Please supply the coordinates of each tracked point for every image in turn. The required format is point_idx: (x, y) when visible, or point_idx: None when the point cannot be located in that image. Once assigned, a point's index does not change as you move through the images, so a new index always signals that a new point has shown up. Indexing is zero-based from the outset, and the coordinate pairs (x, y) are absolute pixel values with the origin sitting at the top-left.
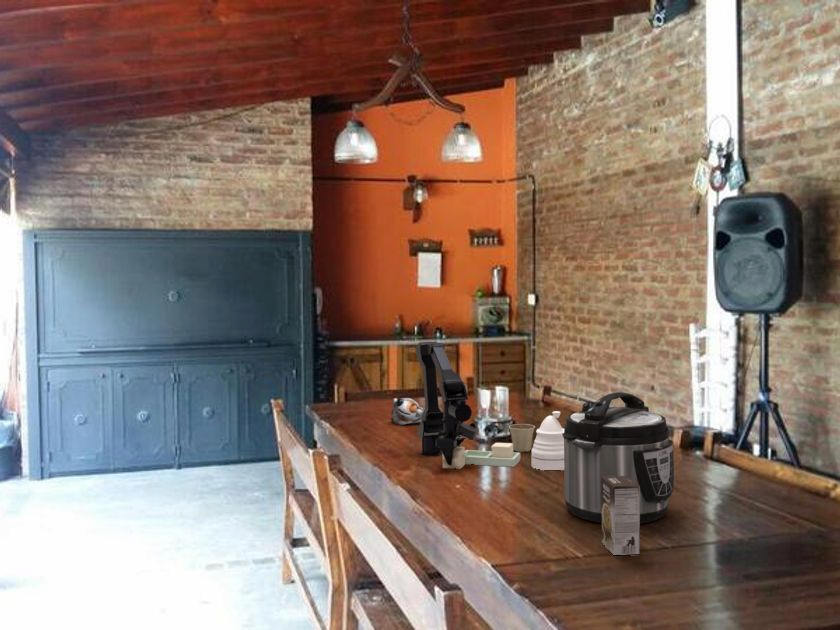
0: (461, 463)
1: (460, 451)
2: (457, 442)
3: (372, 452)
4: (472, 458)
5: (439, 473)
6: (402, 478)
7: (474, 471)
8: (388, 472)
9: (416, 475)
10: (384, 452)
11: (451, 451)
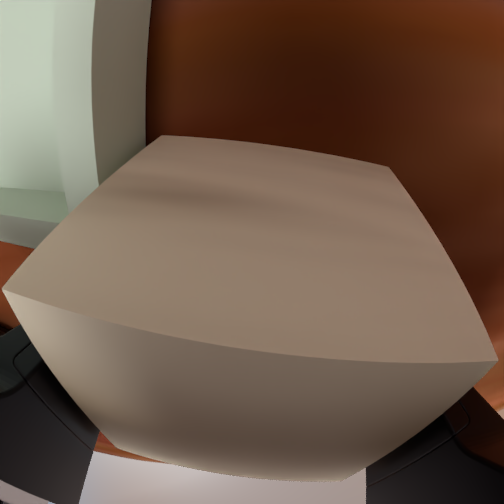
0: (336, 174)
1: (448, 337)
2: (20, 440)
3: (121, 450)
4: (104, 46)
5: (494, 313)
6: (492, 403)
7: (497, 17)
8: None
9: (477, 386)
10: (104, 438)
11: (494, 428)
